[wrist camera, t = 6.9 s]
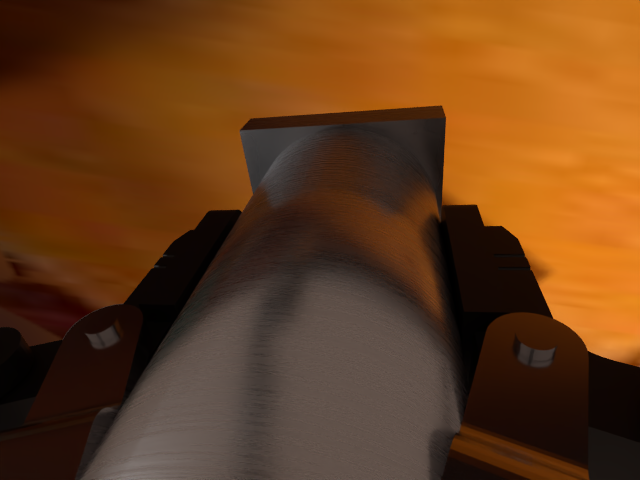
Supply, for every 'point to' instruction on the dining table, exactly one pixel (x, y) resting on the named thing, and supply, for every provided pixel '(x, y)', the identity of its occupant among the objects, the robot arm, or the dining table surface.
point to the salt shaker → (312, 320)
